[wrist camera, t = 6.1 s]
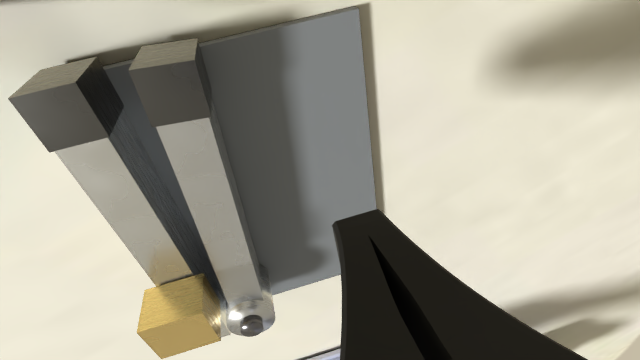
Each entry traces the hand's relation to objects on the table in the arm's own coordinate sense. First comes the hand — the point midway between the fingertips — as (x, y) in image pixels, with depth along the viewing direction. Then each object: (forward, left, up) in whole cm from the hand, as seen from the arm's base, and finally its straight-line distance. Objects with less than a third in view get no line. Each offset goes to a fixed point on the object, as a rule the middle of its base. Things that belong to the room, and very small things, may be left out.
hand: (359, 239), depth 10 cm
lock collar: (-6, +8, -5) cm, 12 cm away
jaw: (-3, +5, -8) cm, 10 cm away
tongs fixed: (-3, +8, -8) cm, 12 cm away
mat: (-4, +3, -8) cm, 10 cm away
